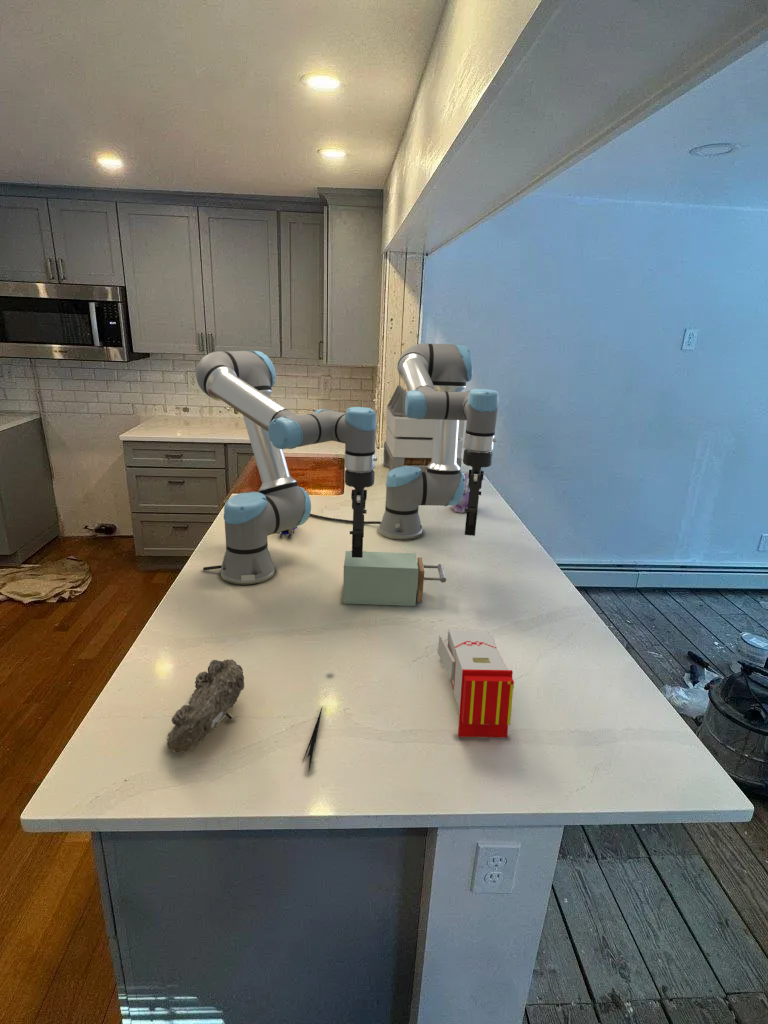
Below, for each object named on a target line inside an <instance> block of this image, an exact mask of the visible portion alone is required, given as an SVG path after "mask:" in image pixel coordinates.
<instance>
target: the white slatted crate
mask: <svg viewBox="0 0 768 1024" xmlns="http://www.w3.org/2000/svg"><path fill="white" fill-rule="evenodd" d="M406 394H407V389H404V388H403V387H402V385H399V384H398V385H397V386H396V388H395V390H394V392H393V394H392V395H391V398H390V400H389V402H388V404H387V405H386V413H385V414H386V415H385V423H386V428H385V438H384V442H383V466H384V467H388V468H389V471H391V470H392V469H394V468H398V467H403V466H412V467H427V466H428V465H429V464H430V463H431V460H432V442H433V423H434V419H420V420H418V419H413V418H408V417H407V416H406V414H405V398H406ZM465 421H466V420H459V429H458V445H457V461H456V463H457V465H458V466H459V467H460V472H462V463H463V457H462V453H463V444H464V443H463V442H464V441H463V440H462V439H463V438H464V431H465V430H464V429H465Z"/></svg>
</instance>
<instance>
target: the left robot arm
mask: <svg viewBox="0 0 768 1024" xmlns="http://www.w3.org/2000/svg"><path fill="white" fill-rule="evenodd" d="M276 377H277V375H276V369H275V366H274V364H273V362H272V360H271V358H270V357H269V356H268V355H267V354H265V353H264V352H262V351H259V350H252V349H251V350H250V349H246V350H231V351H230V350H229V351H226V350H225V351H221V350H219V351H213V352H210V353H208V354H206V355H204V356H203V357H202V358H201V359H200V360H199V363H198V364H197V367H196V372H195V378H196V382H197V385H198V387H199V388H200V390H202V392H203V393H204V394H205V395H207V397H209V398H211V399H213V400H215V401H217V402H218V401H220V402H221V401H222V402H223V403H224V404H227V405H228V406H229V407H231V408H232V409H233V410H235V411H237V412H238V413H240V414H241V415H242V417H243V421H244V424H245V428H246V431H247V435H248V438H249V442H250V446H251V449H252V452H253V456H254V460H255V464H256V467H257V470H258V474H259V478H260V482H261V485H260V487H259V488H258V491H249V492H240V493H237V494H234V495H233V496H230V498H228V499H227V500H226V501H225V503H224V507H223V520H224V533H225V534H224V535H225V552H224V556H223V559H222V563H221V565H219V564H218V565H211V566H203V568H202V569H203V570H202V571H211V570H218V569H219V570H220V576H221V579H222V580H224V581H225V582H227V583H230V584H233V585H240V586H241V585H242V586H247V585H256V584H261V583H263V582H264V583H265V582H266V581H268V580H270V579H271V578H273V576H274V575H275V571H276V570H275V569H276V567H275V564H274V561H273V557H272V556H271V553H270V550H269V548H268V547H269V545H268V537H269V536H271V535H274V534H275V533H278V532H280V533H281V531H284V530H288V529H292V528H296V527H297V528H298V527H299V526H301V525H304V524H305V523H306V522H307V521H308V520H309V518H310V516H309V515H310V514H311V513H312V501H311V497H310V495H309V493H308V492H307V491H306V489H305V488H304V487H301V486H299V485H298V481H297V480H296V479H295V478H293V477H292V476H291V475H290V470H289V467H288V464H287V460H286V456H285V452H284V450H287V449H288V450H291V449H292V450H293V449H296V448H300V447H306V446H310V445H315V444H323V443H327V442H335V443H336V442H337V443H341V444H344V445H345V447H344V448H345V449H344V468H345V470H344V484H345V485H346V486H347V487H350V488H354V489H351V495H350V497H351V498H350V499H351V510H352V512H353V513H352V521H353V523H352V530H349V535H351V551H352V557H356V558H362V555H363V551H364V550H363V549H364V537H365V524H364V521H365V515H367V511H368V510H367V509H366V502H367V499H368V489H365V488H370V487H373V486H374V484H375V471H374V469H375V462H377V461H378V457H377V456H376V438H377V437H376V434H377V415H376V411H375V410H374V409H373V408H370V407H363V406H352V407H348V408H347V409H346V410H345V412H340V411H336V410H333V409H329V408H328V409H327V408H326V409H325V408H318V409H316V410H315V411H314V412H312V413H307V414H296V413H295V412H294V411H291V410H290V409H288V408H287V407H285V406H284V405H282V404H281V403H279V402H277V400H274V399H273V398H271V396H272V394H273V390H272V388H273V387H274V385H275V383H276ZM297 528H296V529H297Z"/></svg>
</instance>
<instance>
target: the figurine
mask: <svg viewBox="0 0 768 1024" xmlns="http://www.w3.org/2000/svg"><path fill="white" fill-rule="evenodd" d="M468 474H469V472H465V473H464V476H465V481H464V482H465V487H464V493H463V496H462V499H461V501H460V502H459V503H458V504H457V505H451V509H452V510H453V512H456V513H462V514H463V513H465V512H464V510H465V509H467V508H468V500H469V490H470V489H469V488H468V483H469V481H468V480H469V479H468Z"/></svg>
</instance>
